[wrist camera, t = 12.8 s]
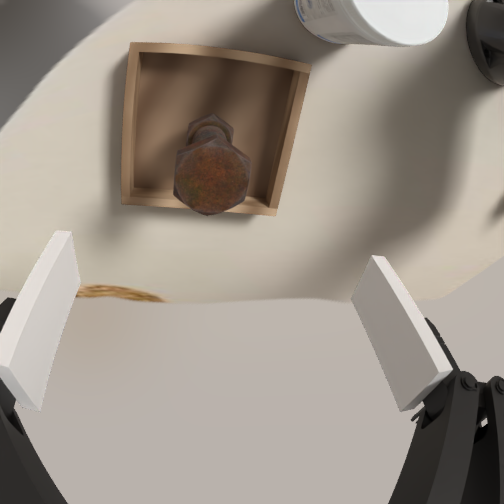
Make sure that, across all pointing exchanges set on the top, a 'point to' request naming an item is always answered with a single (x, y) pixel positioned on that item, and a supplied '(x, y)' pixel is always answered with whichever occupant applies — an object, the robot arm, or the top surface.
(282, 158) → the tray
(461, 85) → the top surface
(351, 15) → the supplement tub
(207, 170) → the bolt
